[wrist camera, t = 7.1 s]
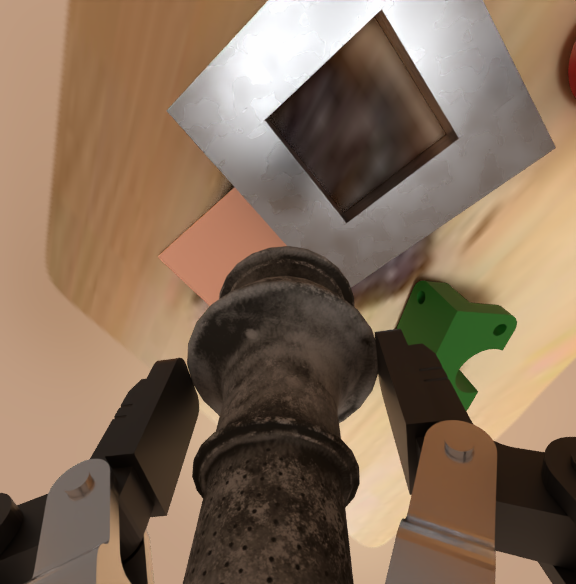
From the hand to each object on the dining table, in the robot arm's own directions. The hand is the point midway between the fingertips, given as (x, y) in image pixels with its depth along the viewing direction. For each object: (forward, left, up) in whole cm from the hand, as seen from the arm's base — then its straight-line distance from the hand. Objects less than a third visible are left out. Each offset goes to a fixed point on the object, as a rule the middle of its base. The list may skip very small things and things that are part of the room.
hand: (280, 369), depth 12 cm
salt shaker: (0, 0, -4) cm, 4 cm away
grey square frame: (-7, -1, -20) cm, 21 cm away
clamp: (-2, +18, -21) cm, 27 cm away
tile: (+7, +1, -20) cm, 22 cm away
